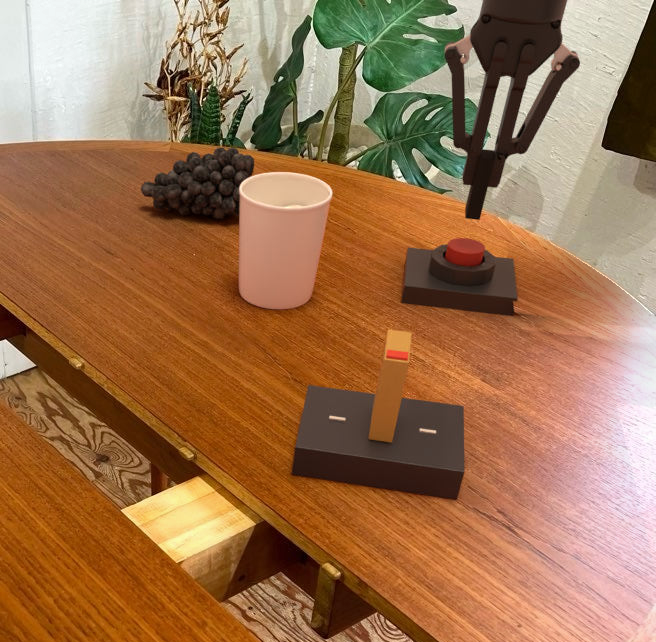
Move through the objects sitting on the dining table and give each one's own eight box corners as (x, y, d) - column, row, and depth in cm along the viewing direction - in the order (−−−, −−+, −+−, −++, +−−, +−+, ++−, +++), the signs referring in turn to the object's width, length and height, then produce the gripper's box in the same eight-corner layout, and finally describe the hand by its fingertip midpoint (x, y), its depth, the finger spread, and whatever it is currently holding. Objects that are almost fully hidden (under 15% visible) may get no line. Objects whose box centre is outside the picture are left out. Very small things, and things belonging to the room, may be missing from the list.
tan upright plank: (372, 407, 86) (388, 326, 81) (395, 411, 86) (412, 329, 80) (368, 439, 82) (384, 356, 77) (392, 443, 82) (409, 359, 77)
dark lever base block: (456, 432, 88) (464, 404, 86) (456, 499, 81) (465, 470, 79) (304, 411, 91) (308, 383, 89) (291, 474, 83) (295, 445, 81)
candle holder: (215, 283, 111) (221, 181, 103) (287, 266, 114) (298, 165, 106) (262, 321, 104) (272, 214, 96) (336, 301, 107) (351, 197, 100)
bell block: (508, 276, 112) (517, 243, 110) (512, 316, 105) (522, 283, 102) (404, 264, 115) (410, 232, 112) (400, 303, 107) (407, 270, 105)
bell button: (481, 254, 109) (484, 239, 108) (481, 270, 106) (485, 255, 105) (444, 250, 109) (448, 236, 108) (444, 265, 106) (447, 251, 105)
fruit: (137, 144, 119) (258, 148, 117) (147, 144, 127) (261, 148, 125) (135, 217, 122) (253, 222, 120) (144, 212, 130) (256, 217, 128)
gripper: (459, -27, 87) (410, 221, 103) (611, -17, 85) (536, 235, 100) (459, -44, 93) (412, 194, 108) (601, -35, 90) (532, 207, 106)
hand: (472, 213), depth 104 cm, fingers closed
